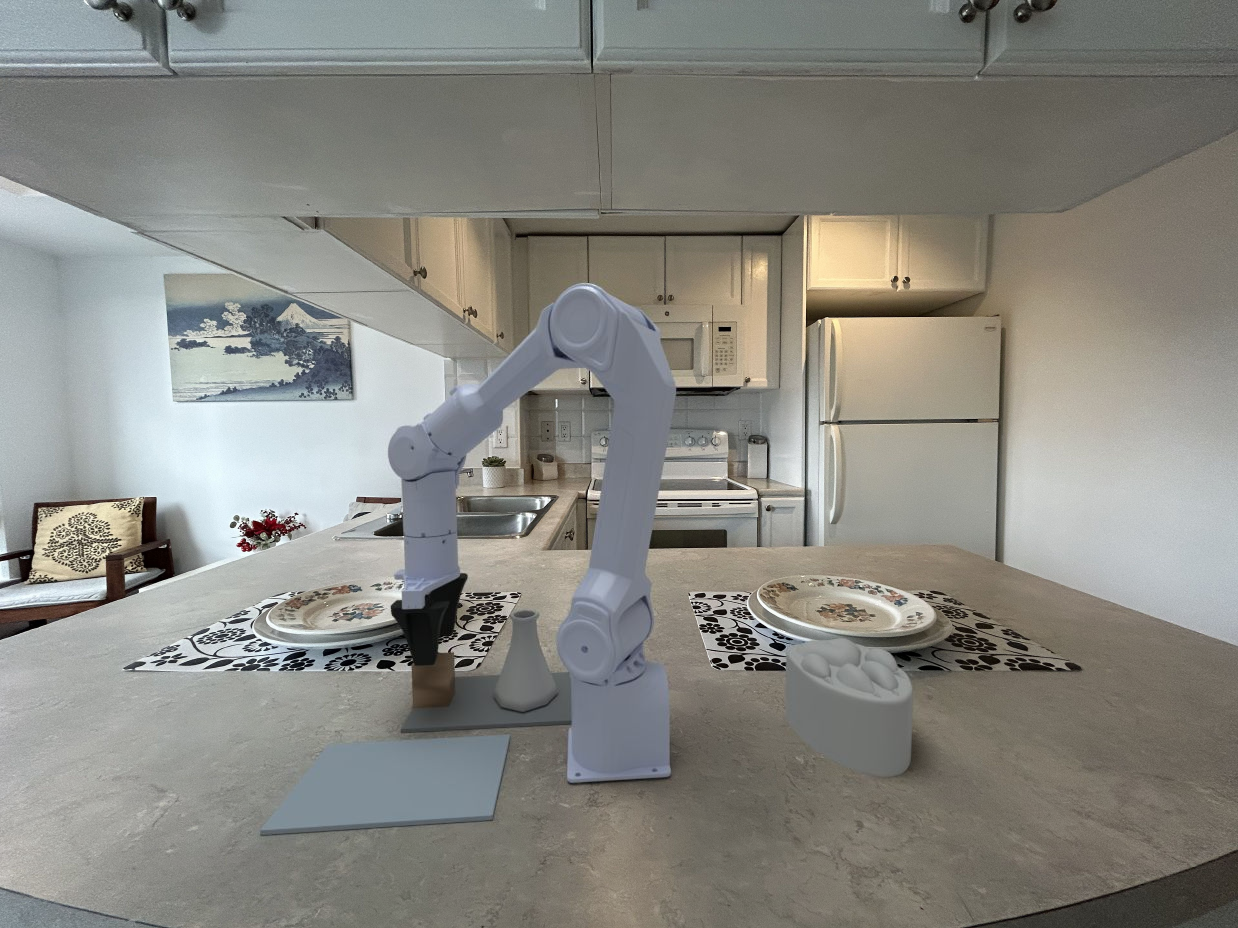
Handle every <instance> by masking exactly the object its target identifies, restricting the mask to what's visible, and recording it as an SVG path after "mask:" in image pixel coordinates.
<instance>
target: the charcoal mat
mask: <svg viewBox="0 0 1238 928" xmlns="http://www.w3.org/2000/svg"><path fill="white" fill-rule="evenodd" d="M455 664H456V663H455V651H454V652H453V651H451V652H449V651H447V652H438V654H437V658H436V662H435V664H434V665H423V666H415V665H414V662H413V661H412V664H411V689H412V690H411V691H412V692H411V694H412V696H411V697H412V708H411V711H410V712H409V714H408V716H407V718H406V719H405V721H404V723H403V724H402V726H401V728H400V733H401V734H402V733H418V732H421V733H423V732H440V731H459V730H460V731H461V730H476V729H478V730H479V729H495V728H496V729H498V728H500V729H501V728H515V727H516V728H519V727H520V728H521V727H534V726H535V727H536V726H537V727H538V726H554V725H555V726H556V725H557V726H559V725H572V714H571V678H570V672H569V671H561V672H560V671H559V672H551V675H552V677H553V679H554V682H555V684H556V687H557V689H558V693H557V694H556V695H555V696H554V697H553V698H552V699H551V700H550V701H549V702H548V704H546V705H543V706H540V707H537V708H533V709H530V710H527V711H524V712H521V711H517V710H513V709H508V708H504V707H501V706H500V705H499V704H498V702H497V701H496V699H495V698H494V697H493V693H494V690H495V687H496V685H497V682H498V679H499V677H500V674H493V675H491V674H490V675H468V676H456V668H455V666H456V665H455Z"/></svg>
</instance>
